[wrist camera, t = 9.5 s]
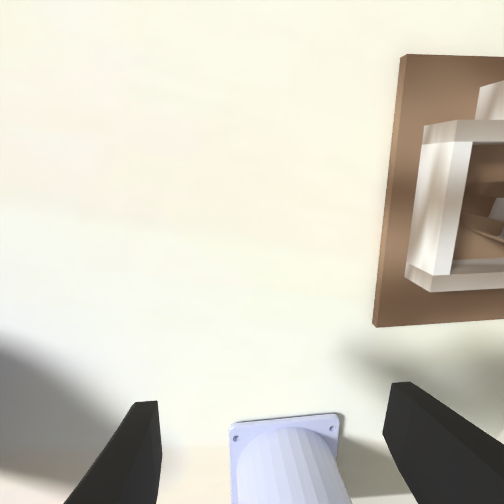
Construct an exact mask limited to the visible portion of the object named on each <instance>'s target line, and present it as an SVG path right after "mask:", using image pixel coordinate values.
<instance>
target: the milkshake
mask: <svg viewBox="0 0 504 504" xmlns="http://www.w3.org/2000/svg"><path fill="white" fill-rule="evenodd" d="M460 217H461V220H462V224H463V226H465V227H467V228H469V229H471V230H473V231H474V232H476V233H479V234H482V235H484V236H487V237H490V238H493V239H496V240H498V241H501V242H504V178H496V179H489V180H484V181H479V182H476V183H475V184H474V185H473V186H472V187H471V188H470V189H469V190H468V191H467V192H466V193H465V194H464V195H463V201H462V207H461V212H460Z"/></svg>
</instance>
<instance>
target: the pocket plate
mask: <svg viewBox="0 0 504 504" xmlns="http://www.w3.org/2000/svg"><path fill="white" fill-rule="evenodd" d="M496 178H504V57H487V56H454V55H421V54H406V55H405V56H403V57H401V58H400V68H399V77H398V86H397V96H396V105H395V114H394V124H393V133H392V142H391V152H390V161H389V171H388V180H387V189H386V199H385V208H384V217H383V227H382V236H381V245H380V255H379V264H378V274H377V283H376V292H375V302H374V311H373V320H372V323H373V325H374V326H375V327H376V328H378V327H393V326H407V325H422V324H436V323H451V322H465V321H480V320H494V319H504V242H501V241H498V240H496V239H493V238H490V237H487V236H484V235H482V234H479V233H476V232H474V231H473V230H471V229H469V228H467V227H465V226H463V224H462V220H461V217H460V212H461V207H462V201H463V195H464V194H465V193H466V192H467V191H468V190H469V189H470V188H471V187H472V186H473V185H474V184H475V183H476V182H479V181H484V180H489V179H496Z"/></svg>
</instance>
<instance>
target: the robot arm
mask: <svg viewBox="0 0 504 504" xmlns="http://www.w3.org/2000/svg"><path fill="white" fill-rule="evenodd" d="M339 423H340V421H339V418H338V416H337V415H336V414H323V415H313V416H303V417H293V418H283V419H273V420H262V421H252V422H242V423H234V424H232V425H231V426H230V427H229V447H230V475H231V503H232V504H352V502H351V500H350V497H349V495H348V492H347V490H346V487H345V485H344V482H343V480H342V477H341V475H340V472H339V470H338V467H337V465H336V459H337V447H338V435H339ZM331 426H333V427H331ZM382 434H383V436H384V438H385V441H386V443H387V445H388V448H389V450H390V452H391V454H392V457H393V459H394V461H395V463H396V465H397V467H398V469H399V471H400V473H401V475H402V476H403V478H404V480H405V482H406V483H407V485H408V487H409V489H410V490H411V492H412V494H413V495H414V497H415V499H416V501H417V502H418V504H504V444H502V443H501V442H499V441H498V440H496V439H494V438H493V437H491V436H490V435H488V434H487V433H485V432H484V431H482V430H481V429H479V428H478V427H477V426H475V425H474V424H472V423H471V422H469V421H468V420H466V419H465V418H463V417H462V416H460V415H459V414H457V413H456V412H455V411H453V410H452V409H450V408H449V407H447V406H446V405H444V404H443V403H441V402H440V401H439V400H437V399H436V398H434V397H433V396H431V395H430V394H428V393H427V392H425V391H424V390H422V389H421V388H419V387H418V386H416V385H414V384H413V383H411V382H399V383H392V385H391V391H390V396H389V401H388V406H387V412H386V417H385V422H384V428H383V433H382ZM234 436H238V437H234ZM161 462H162V445H161V434H160V423H159V413H158V402H157V401H146V402H135V403H134V404H133V405H132V406H131V408H130V410H129V411H128V413H127V415H126V416H125V418H124V419H123V421H122V422H121V424H120V426H119V427H118V429H117V430H116V432H115V433H114V435H113V436H112V438H111V439H110V441H109V442H108V444H107V445H106V447H105V448H104V449H103V451H102V452H101V454H100V455H99V456H98V458H97V459H96V461H95V462H94V463H93V465H92V466H91V468H90V469H89V470H88V472H87V473H86V475H85V476H84V477H83V479H82V480H81V481H80V483H79V484H78V485H77V487H76V488H75V489H74V491H73V492H72V493H71V494H70V496H69V497H68V498H67V500H66V501H65V502H64V504H156V501H157V496H158V488H159V480H160V471H161Z"/></svg>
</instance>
